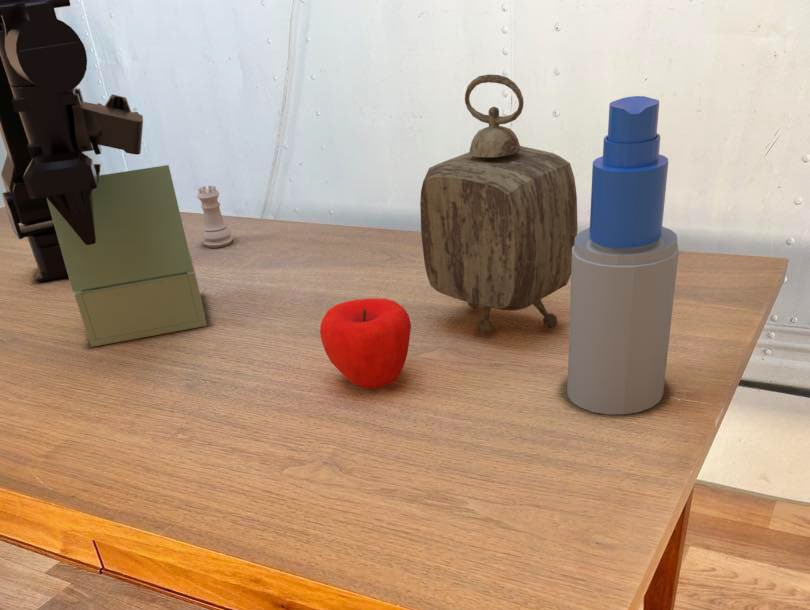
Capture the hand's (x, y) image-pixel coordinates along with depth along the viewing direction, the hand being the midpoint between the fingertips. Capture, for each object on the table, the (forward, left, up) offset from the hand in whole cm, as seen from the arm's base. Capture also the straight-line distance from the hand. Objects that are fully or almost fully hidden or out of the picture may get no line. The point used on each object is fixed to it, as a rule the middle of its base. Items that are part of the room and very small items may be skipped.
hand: (91, 243), depth 91 cm
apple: (+20, +25, -12) cm, 35 cm away
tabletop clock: (+13, +41, -12) cm, 45 cm away
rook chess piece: (-34, +14, -12) cm, 39 cm away
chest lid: (-5, +3, 0) cm, 6 cm away
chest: (-8, +3, -12) cm, 15 cm away
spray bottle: (+32, +46, -12) cm, 58 cm away
